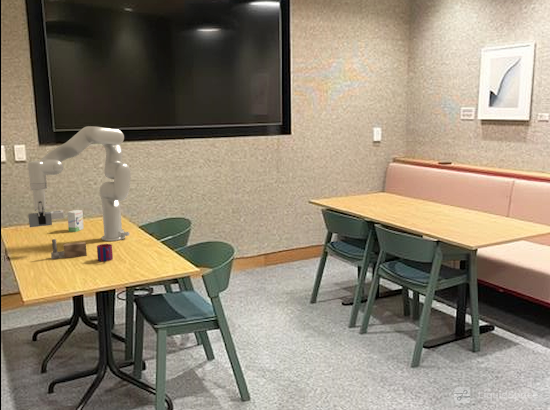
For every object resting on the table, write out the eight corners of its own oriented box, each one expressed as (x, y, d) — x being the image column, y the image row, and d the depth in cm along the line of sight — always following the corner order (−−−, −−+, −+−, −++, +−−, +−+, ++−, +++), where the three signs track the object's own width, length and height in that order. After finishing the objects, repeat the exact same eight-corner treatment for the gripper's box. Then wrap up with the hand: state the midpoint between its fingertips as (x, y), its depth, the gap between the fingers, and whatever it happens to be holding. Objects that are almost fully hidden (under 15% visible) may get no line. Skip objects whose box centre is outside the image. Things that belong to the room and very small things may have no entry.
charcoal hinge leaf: (29, 227, 252) (28, 215, 251) (29, 225, 257) (28, 213, 256) (64, 224, 258) (63, 212, 257) (63, 221, 263) (62, 210, 262)
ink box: (76, 228, 316) (75, 209, 314) (84, 229, 315) (82, 209, 313) (68, 231, 308) (66, 212, 306) (76, 232, 306) (74, 212, 304)
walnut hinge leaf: (86, 253, 258) (84, 235, 256) (86, 255, 254) (85, 237, 252) (51, 257, 251) (49, 239, 250) (51, 259, 248) (49, 240, 246)
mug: (111, 257, 251) (110, 243, 250) (114, 262, 242) (113, 247, 241) (97, 258, 248) (96, 244, 247) (99, 264, 239) (98, 249, 238)
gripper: (30, 184, 259) (34, 220, 263) (29, 189, 244) (33, 227, 248) (47, 183, 262) (50, 219, 266) (47, 188, 247) (51, 225, 251)
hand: (42, 222), depth 257 cm, fingers closed on charcoal hinge leaf, 4 cm apart
